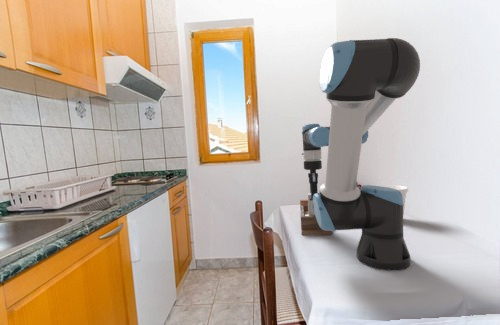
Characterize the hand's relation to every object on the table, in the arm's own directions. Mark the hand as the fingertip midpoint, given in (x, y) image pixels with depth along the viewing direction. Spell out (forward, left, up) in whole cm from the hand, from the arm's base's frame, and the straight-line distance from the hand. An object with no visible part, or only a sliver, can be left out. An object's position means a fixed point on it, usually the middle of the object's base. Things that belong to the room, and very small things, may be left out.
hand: (314, 213), depth 111 cm
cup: (+14, -36, -7) cm, 39 cm away
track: (+11, 0, -7) cm, 13 cm away
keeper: (0, 0, -5) cm, 5 cm away
